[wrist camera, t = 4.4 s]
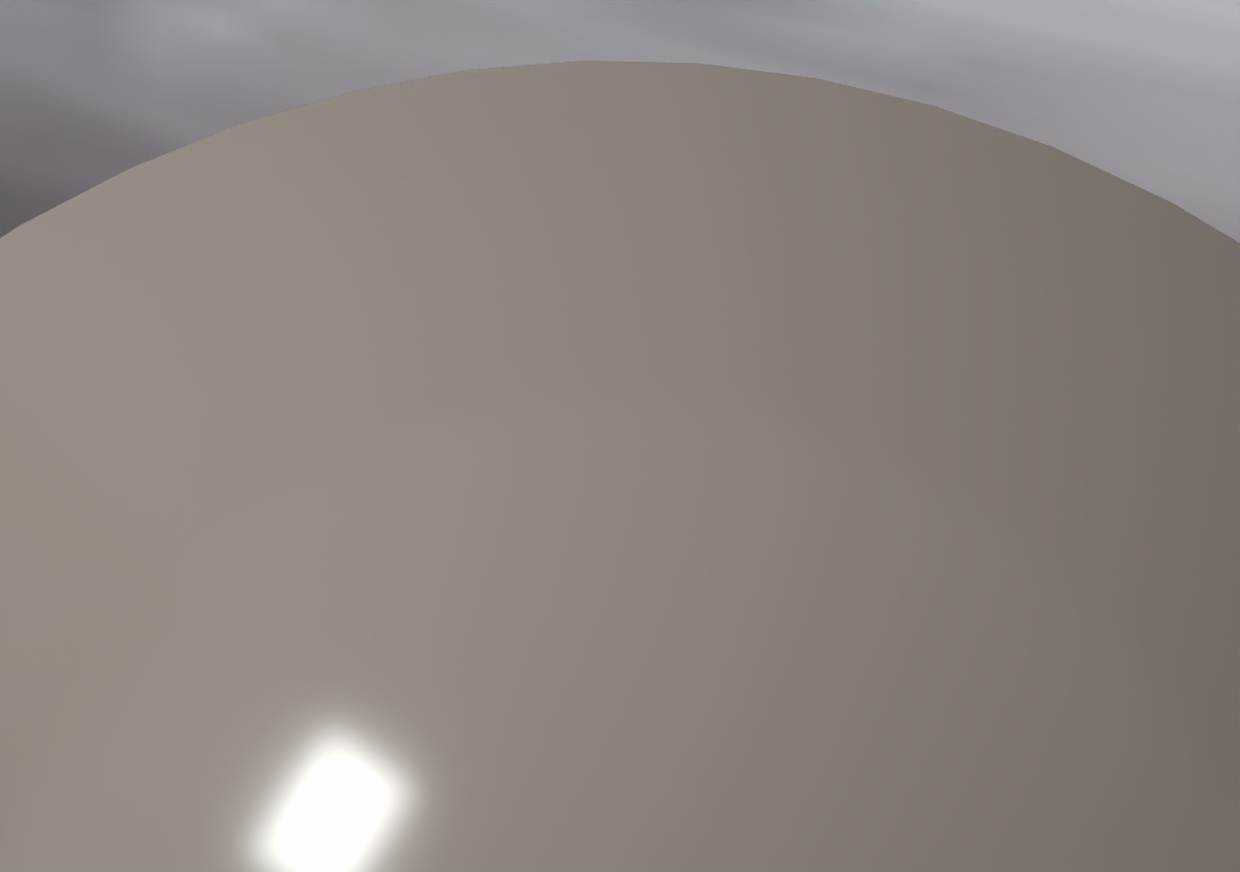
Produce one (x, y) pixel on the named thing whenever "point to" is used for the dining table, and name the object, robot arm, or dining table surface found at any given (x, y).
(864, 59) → the dining table surface
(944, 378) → the sage jar
